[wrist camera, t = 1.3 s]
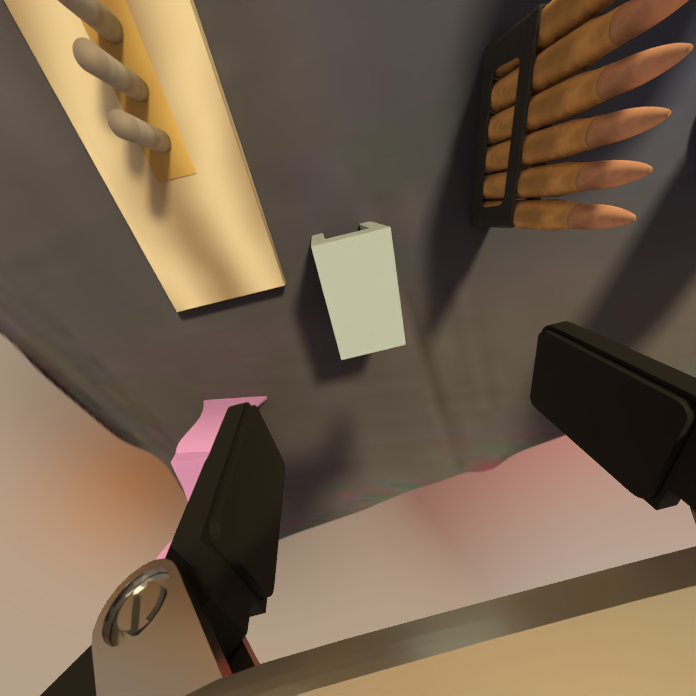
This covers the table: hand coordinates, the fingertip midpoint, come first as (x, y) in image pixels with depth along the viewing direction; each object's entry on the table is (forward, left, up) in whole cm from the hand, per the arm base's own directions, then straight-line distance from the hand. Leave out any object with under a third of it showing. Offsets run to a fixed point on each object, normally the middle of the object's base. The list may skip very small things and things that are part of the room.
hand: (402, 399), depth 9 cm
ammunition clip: (-12, -7, -17) cm, 22 cm away
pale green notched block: (0, 0, -17) cm, 17 cm away
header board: (+10, -11, -17) cm, 22 cm away
